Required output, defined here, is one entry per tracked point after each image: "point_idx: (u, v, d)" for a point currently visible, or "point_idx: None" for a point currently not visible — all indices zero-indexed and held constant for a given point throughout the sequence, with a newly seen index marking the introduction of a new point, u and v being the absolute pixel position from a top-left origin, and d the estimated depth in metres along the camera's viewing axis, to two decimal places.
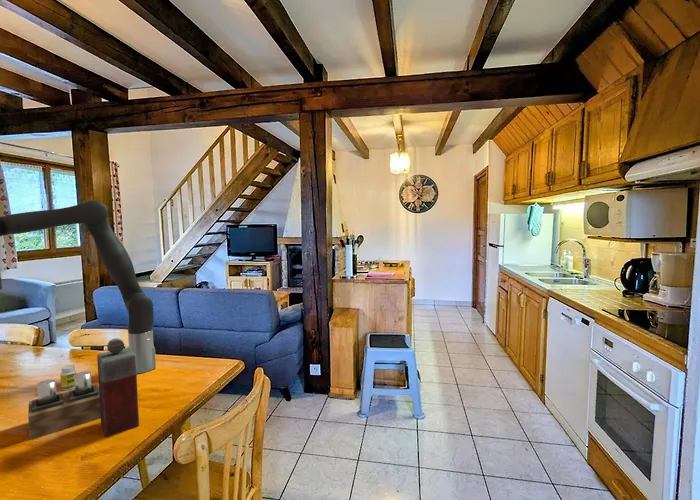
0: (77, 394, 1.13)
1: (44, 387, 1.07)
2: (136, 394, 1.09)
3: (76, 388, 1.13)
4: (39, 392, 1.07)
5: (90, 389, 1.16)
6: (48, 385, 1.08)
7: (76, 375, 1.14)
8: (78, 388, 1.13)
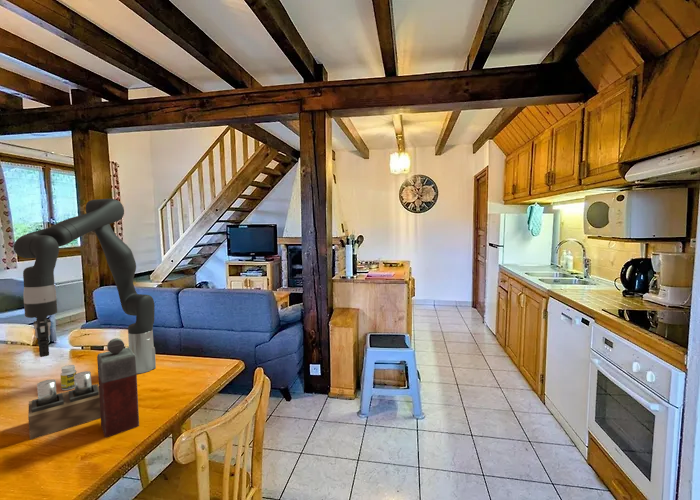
0: (77, 394, 1.13)
1: (44, 387, 1.07)
2: (136, 394, 1.09)
3: (76, 388, 1.13)
4: (39, 392, 1.07)
5: (90, 389, 1.16)
6: (48, 385, 1.08)
7: (76, 375, 1.14)
8: (78, 388, 1.13)
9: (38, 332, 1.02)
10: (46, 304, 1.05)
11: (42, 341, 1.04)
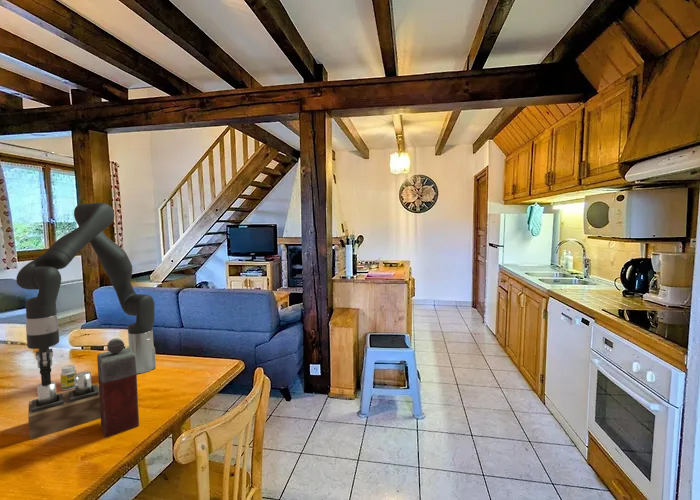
0: (77, 394, 1.13)
1: (44, 389, 1.07)
2: (136, 394, 1.09)
3: (76, 388, 1.13)
4: (39, 394, 1.07)
5: (90, 389, 1.16)
6: (48, 387, 1.08)
7: (76, 375, 1.14)
8: (78, 388, 1.13)
9: (41, 366, 1.04)
10: (48, 335, 1.06)
11: (44, 371, 1.06)
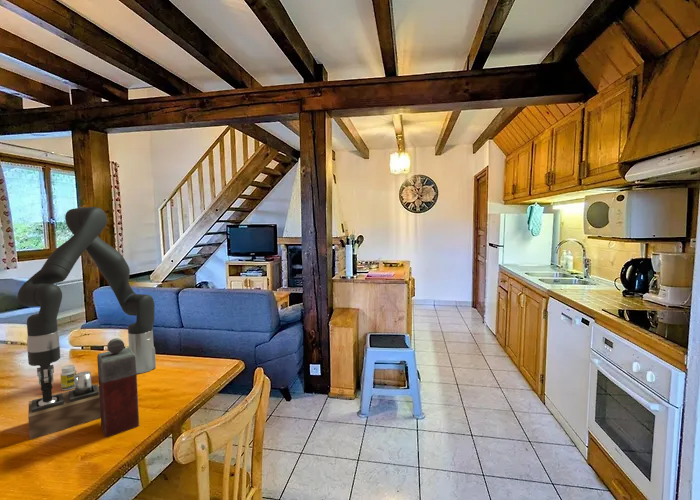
0: (77, 394, 1.13)
1: None
2: (136, 394, 1.09)
3: (76, 388, 1.13)
4: None
5: (90, 389, 1.16)
6: (49, 403, 1.08)
7: (76, 375, 1.14)
8: (78, 388, 1.13)
9: (42, 384, 1.04)
10: (49, 352, 1.06)
11: (45, 387, 1.07)
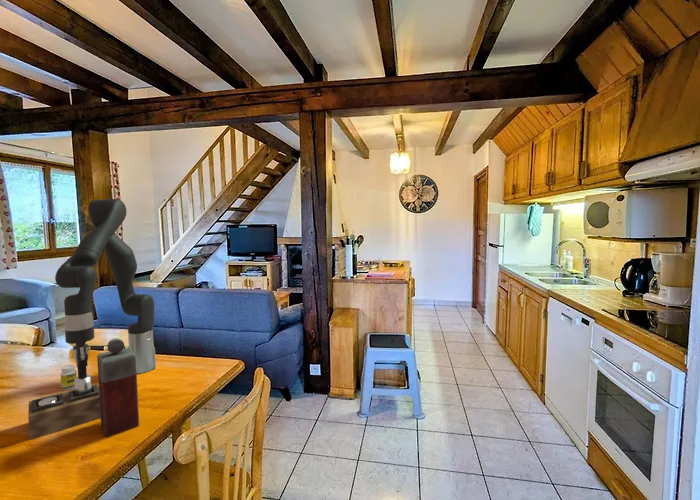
0: None
1: None
2: (136, 394, 1.09)
3: (76, 392, 1.13)
4: None
5: (90, 392, 1.16)
6: (49, 403, 1.08)
7: (76, 379, 1.14)
8: (79, 392, 1.13)
9: (79, 360, 1.10)
10: (85, 331, 1.12)
11: (81, 364, 1.12)
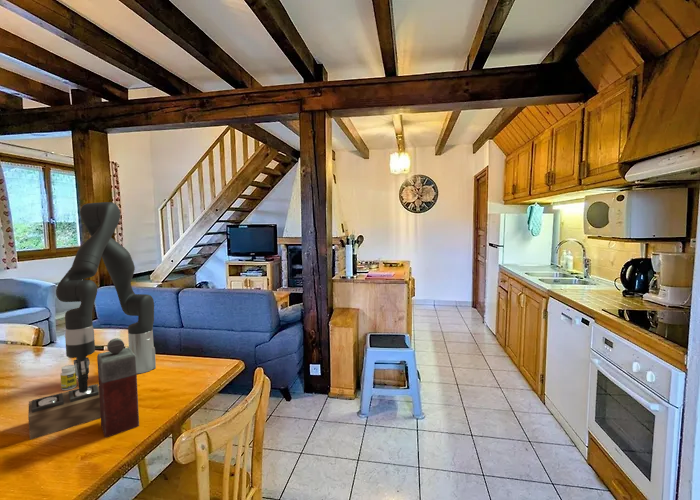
0: None
1: None
2: (136, 394, 1.09)
3: None
4: None
5: None
6: (49, 403, 1.08)
7: (77, 392, 1.14)
8: None
9: (79, 375, 1.10)
10: (86, 345, 1.12)
11: (82, 378, 1.13)
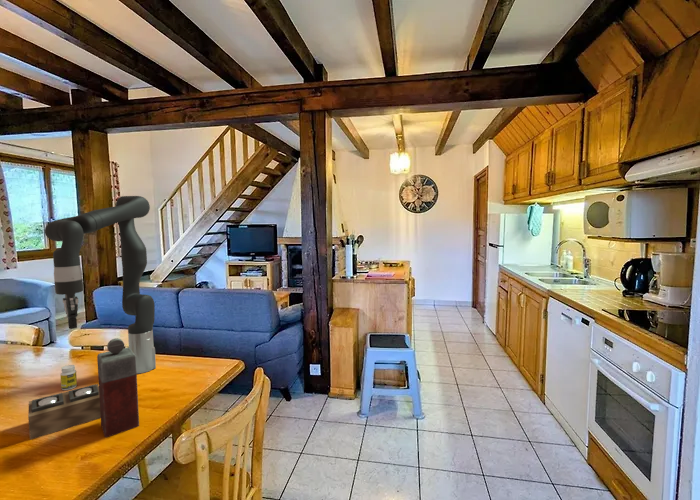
0: None
1: None
2: (136, 394, 1.09)
3: None
4: None
5: None
6: (49, 403, 1.08)
7: (77, 392, 1.14)
8: None
9: (69, 310, 1.15)
10: (74, 282, 1.17)
11: (71, 315, 1.18)
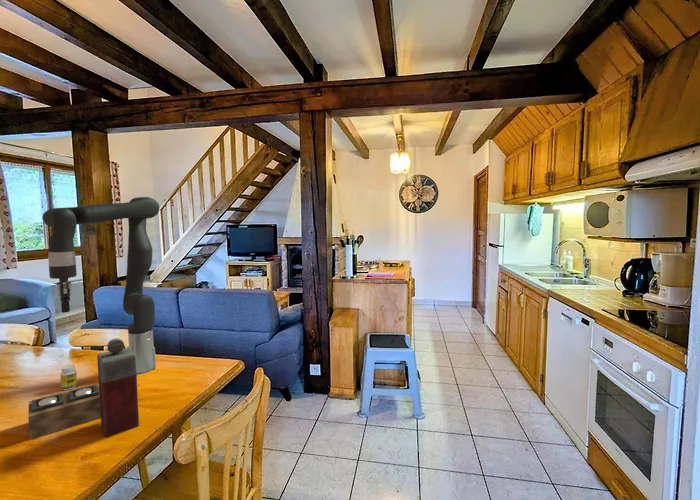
0: None
1: None
2: (136, 394, 1.09)
3: None
4: None
5: None
6: (49, 403, 1.08)
7: (77, 392, 1.14)
8: None
9: (61, 293, 1.20)
10: (68, 267, 1.22)
11: (64, 298, 1.22)
